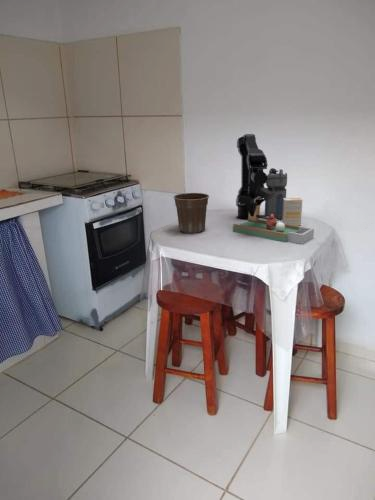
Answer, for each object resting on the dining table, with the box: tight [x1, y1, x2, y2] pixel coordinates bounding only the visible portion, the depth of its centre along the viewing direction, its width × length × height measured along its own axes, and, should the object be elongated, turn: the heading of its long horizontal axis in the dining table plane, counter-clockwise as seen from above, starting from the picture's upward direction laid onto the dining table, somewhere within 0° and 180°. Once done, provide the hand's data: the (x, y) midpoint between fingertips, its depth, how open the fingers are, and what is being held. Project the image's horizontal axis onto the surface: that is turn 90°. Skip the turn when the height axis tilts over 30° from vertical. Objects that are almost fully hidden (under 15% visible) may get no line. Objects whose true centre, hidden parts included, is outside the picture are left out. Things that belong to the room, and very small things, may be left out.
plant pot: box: [173, 192, 210, 234], centre depth 182 cm, size 16×16×16 cm
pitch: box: [232, 218, 315, 245], centre depth 175 cm, size 33×14×4 cm, turn 50°
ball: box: [276, 221, 285, 231], centre depth 172 cm, size 4×4×4 cm
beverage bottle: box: [264, 167, 288, 220], centre depth 198 cm, size 10×13×25 cm
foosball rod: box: [247, 204, 277, 230], centre depth 177 cm, size 12×5×9 cm, turn 50°
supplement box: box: [281, 197, 303, 227], centre depth 185 cm, size 8×5×13 cm, turn 84°
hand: (253, 215), depth 179 cm, fingers closed on foosball rod, 3 cm apart
